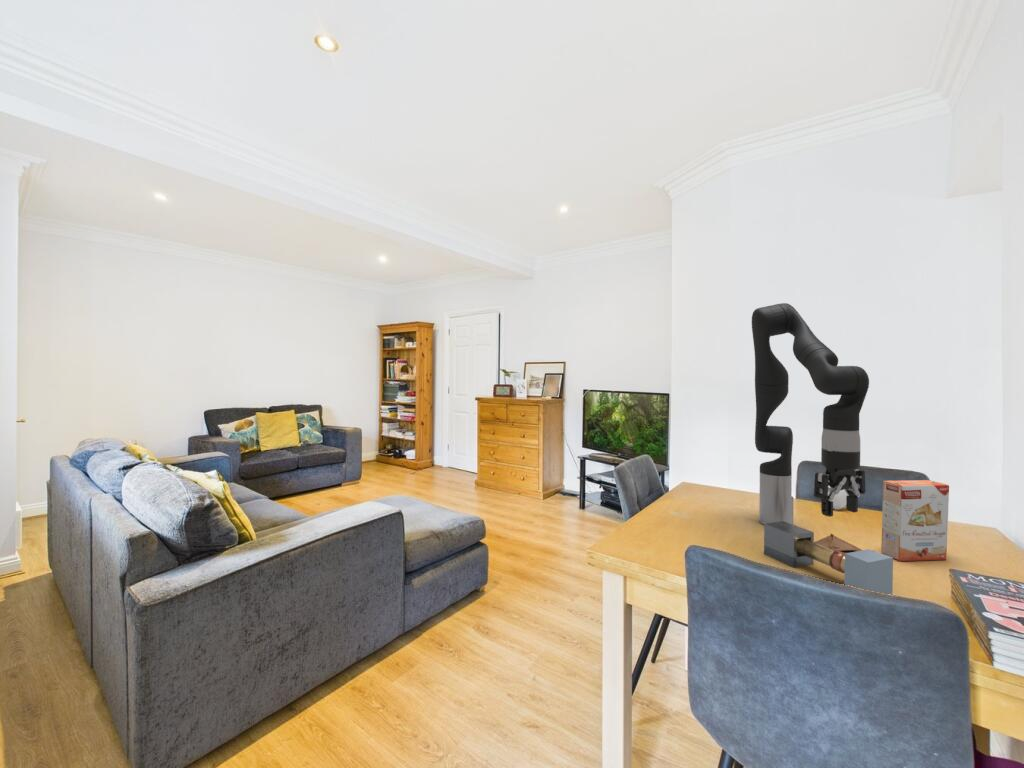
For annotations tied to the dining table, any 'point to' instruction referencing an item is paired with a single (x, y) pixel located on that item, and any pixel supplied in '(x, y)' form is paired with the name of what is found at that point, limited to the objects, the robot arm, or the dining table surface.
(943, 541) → the cracker box
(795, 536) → the sleeve
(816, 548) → the rod
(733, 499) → the dining table surface
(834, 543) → the sunglasses case
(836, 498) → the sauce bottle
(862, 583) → the socket
